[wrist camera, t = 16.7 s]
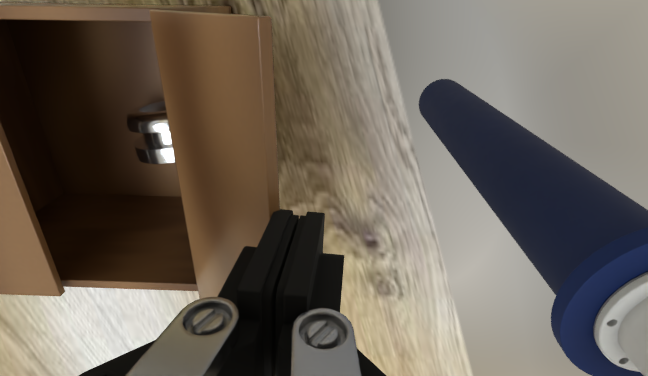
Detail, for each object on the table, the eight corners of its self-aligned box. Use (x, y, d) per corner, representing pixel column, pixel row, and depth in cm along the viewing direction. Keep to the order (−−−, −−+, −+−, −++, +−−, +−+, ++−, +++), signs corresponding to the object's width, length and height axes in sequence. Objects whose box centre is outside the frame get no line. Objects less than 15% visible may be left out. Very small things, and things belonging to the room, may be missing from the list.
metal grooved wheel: (157, 139, 27) (122, 166, 23) (145, 99, 26) (105, 119, 21) (224, 135, 27) (202, 161, 22) (216, 93, 26) (190, 112, 21)
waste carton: (231, 6, 24) (151, 8, 14) (248, 200, 30) (201, 302, 20) (-1, 2, 24) (-249, 1, 14) (63, 195, 30) (-75, 292, 20)
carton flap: (148, 9, 14) (159, 9, 14) (199, 301, 20) (206, 297, 20) (257, 16, 9) (271, 16, 9) (280, 402, 15) (288, 396, 15)
